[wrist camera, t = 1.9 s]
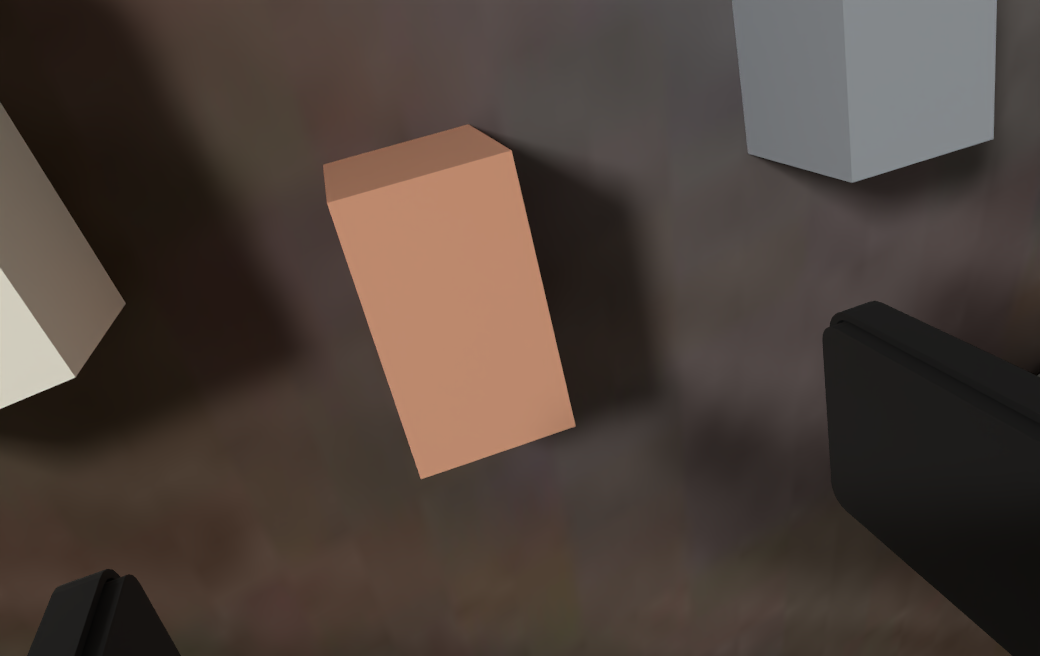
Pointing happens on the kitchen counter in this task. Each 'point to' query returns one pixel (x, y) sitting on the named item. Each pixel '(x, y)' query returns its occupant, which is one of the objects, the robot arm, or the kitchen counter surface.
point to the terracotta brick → (451, 294)
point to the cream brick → (44, 280)
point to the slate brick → (865, 81)
